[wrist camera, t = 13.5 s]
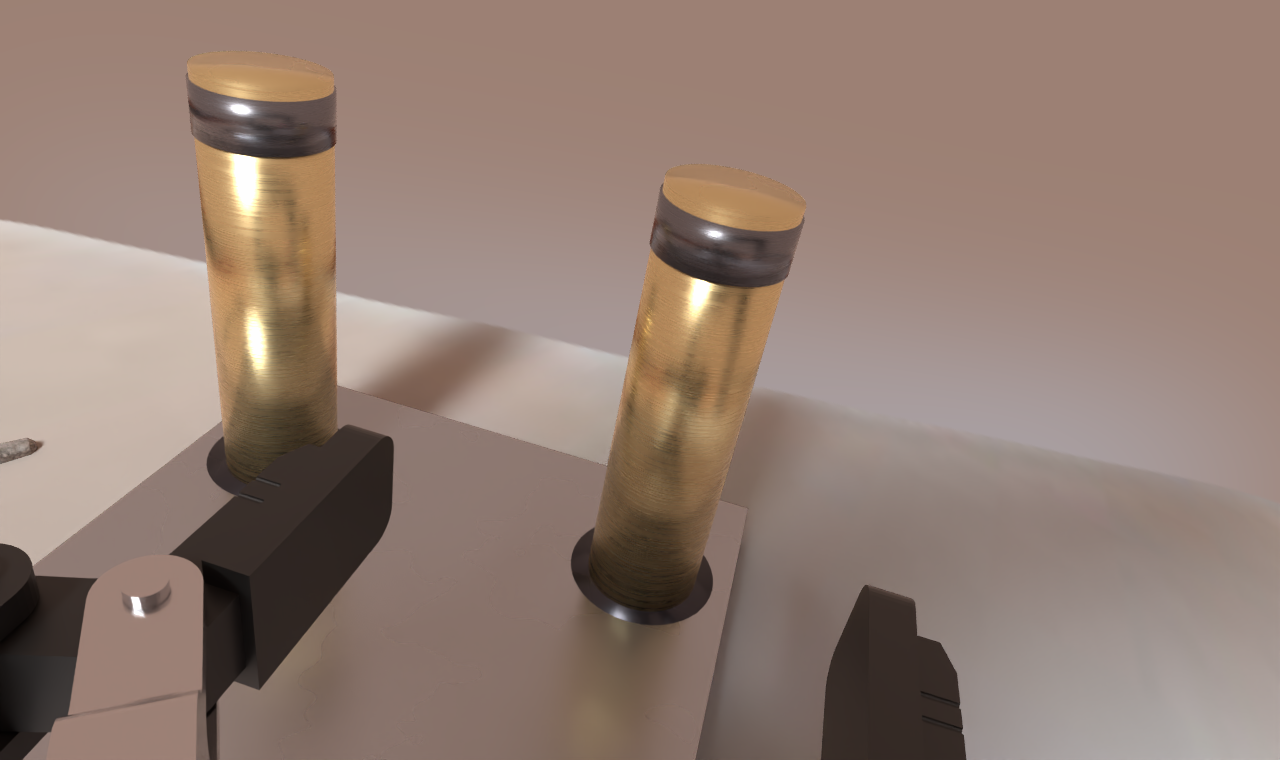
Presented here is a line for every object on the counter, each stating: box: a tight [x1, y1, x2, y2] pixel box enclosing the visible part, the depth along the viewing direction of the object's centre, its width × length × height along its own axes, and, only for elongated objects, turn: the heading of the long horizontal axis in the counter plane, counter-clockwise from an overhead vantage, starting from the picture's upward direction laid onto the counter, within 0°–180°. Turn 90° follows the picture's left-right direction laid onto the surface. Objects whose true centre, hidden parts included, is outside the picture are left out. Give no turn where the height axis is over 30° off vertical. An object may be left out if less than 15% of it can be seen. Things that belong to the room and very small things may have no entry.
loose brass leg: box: [588, 164, 806, 611], centre depth 20 cm, size 3×3×11 cm
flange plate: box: [23, 386, 748, 760], centre depth 21 cm, size 16×15×1 cm
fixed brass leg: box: [186, 51, 338, 485], centre depth 22 cm, size 3×3×11 cm
